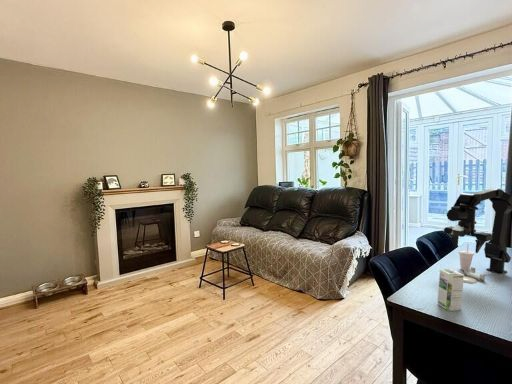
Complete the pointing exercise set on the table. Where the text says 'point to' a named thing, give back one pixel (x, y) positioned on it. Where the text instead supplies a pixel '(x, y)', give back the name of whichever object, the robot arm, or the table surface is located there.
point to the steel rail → (472, 274)
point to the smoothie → (465, 258)
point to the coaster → (469, 280)
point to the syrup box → (450, 289)
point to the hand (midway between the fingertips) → (466, 250)
